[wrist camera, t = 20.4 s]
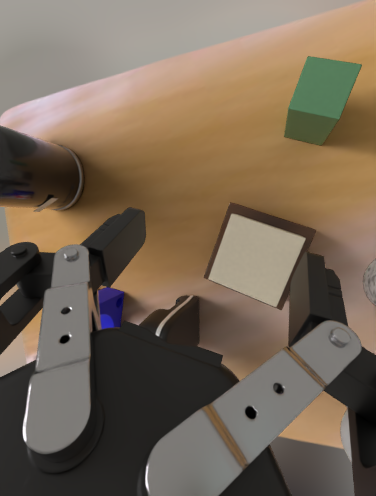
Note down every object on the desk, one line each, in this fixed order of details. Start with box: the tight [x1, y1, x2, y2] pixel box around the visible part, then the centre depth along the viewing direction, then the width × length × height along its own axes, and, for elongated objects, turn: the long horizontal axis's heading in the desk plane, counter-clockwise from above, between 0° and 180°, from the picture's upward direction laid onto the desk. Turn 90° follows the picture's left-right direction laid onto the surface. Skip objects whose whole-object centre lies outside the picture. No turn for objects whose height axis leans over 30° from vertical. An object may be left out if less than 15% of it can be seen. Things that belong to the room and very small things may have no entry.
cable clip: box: [98, 287, 124, 329], centre depth 35 cm, size 12×4×6 cm, turn 171°
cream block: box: [208, 214, 306, 307], centre depth 25 cm, size 7×7×3 cm
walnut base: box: [204, 202, 316, 310], centre depth 28 cm, size 9×9×4 cm
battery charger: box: [139, 295, 199, 346], centre depth 28 cm, size 7×4×11 cm, turn 1°
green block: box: [284, 56, 362, 145], centre depth 23 cm, size 4×4×8 cm
